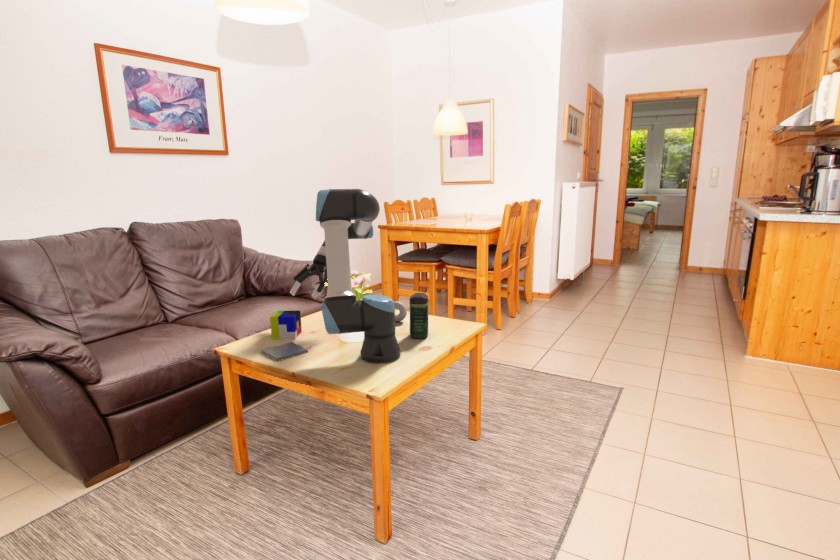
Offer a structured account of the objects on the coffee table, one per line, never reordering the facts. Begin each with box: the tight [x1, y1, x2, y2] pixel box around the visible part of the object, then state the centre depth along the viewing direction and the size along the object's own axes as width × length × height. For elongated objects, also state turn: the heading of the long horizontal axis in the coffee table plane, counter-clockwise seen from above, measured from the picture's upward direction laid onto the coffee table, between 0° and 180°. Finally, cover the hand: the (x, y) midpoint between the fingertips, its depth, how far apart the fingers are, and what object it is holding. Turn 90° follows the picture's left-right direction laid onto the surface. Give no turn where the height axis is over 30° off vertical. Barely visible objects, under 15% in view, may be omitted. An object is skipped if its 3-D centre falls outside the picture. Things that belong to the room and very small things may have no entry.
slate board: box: [260, 341, 309, 362], centre depth 178 cm, size 13×13×1 cm
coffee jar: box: [409, 292, 429, 339], centre depth 194 cm, size 10×8×19 cm
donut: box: [393, 300, 408, 322], centre depth 216 cm, size 10×4×10 cm, turn 71°
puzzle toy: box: [269, 310, 303, 340], centre depth 197 cm, size 10×10×10 cm
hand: (302, 295), depth 204 cm, fingers open, 13 cm apart
